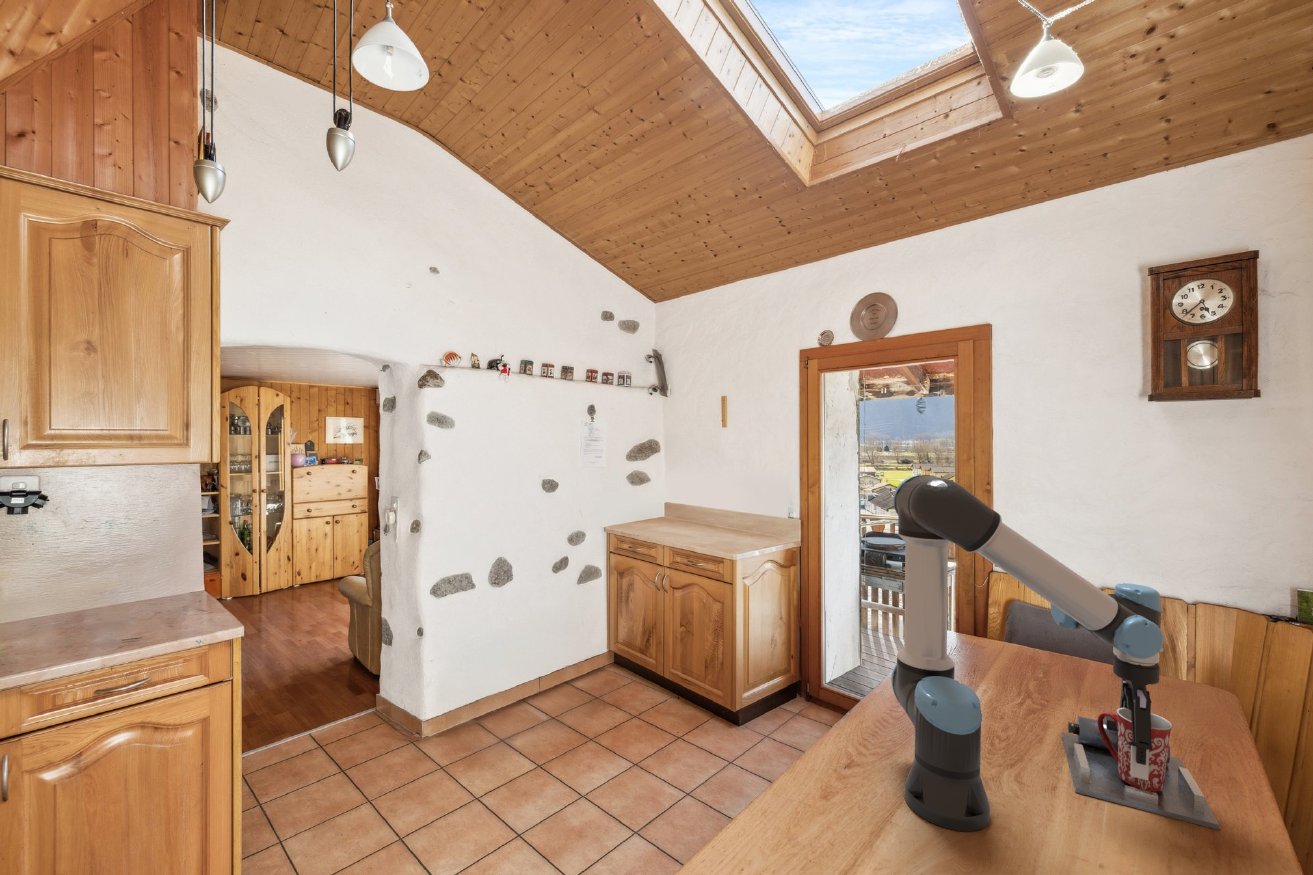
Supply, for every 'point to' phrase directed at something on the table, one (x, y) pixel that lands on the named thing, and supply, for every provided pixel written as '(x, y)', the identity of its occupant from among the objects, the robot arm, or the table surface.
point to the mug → (1123, 756)
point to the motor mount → (1101, 780)
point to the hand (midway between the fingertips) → (1134, 765)
